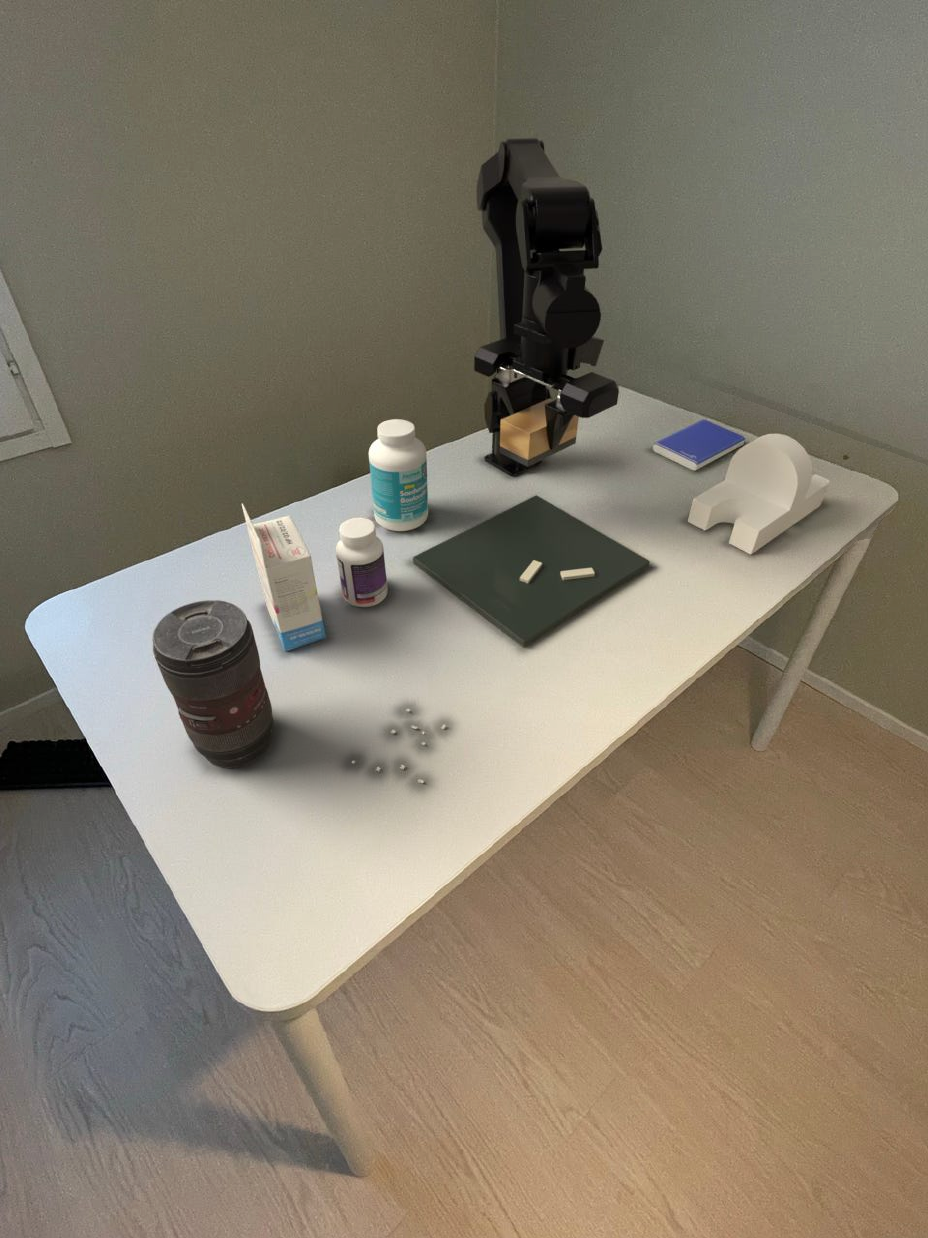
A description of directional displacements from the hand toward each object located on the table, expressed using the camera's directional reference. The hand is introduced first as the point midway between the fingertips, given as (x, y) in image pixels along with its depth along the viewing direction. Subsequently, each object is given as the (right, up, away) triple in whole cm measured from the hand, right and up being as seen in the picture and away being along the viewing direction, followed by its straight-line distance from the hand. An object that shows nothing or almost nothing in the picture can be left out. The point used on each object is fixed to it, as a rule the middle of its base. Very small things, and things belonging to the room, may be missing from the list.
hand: (538, 441), depth 90 cm
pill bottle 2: (-18, -9, +7) cm, 21 cm away
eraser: (0, -1, +1) cm, 1 cm away
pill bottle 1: (-21, -20, -5) cm, 30 cm away
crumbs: (-15, -35, -21) cm, 44 cm away
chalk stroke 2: (+4, -17, -4) cm, 18 cm away
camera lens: (-32, -35, -21) cm, 51 cm away
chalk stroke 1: (-1, -17, -4) cm, 17 cm away
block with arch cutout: (+31, -8, +8) cm, 33 cm away
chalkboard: (-1, -16, -1) cm, 16 cm away
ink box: (-29, -23, -9) cm, 38 cm away
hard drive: (+27, +4, +21) cm, 35 cm away
